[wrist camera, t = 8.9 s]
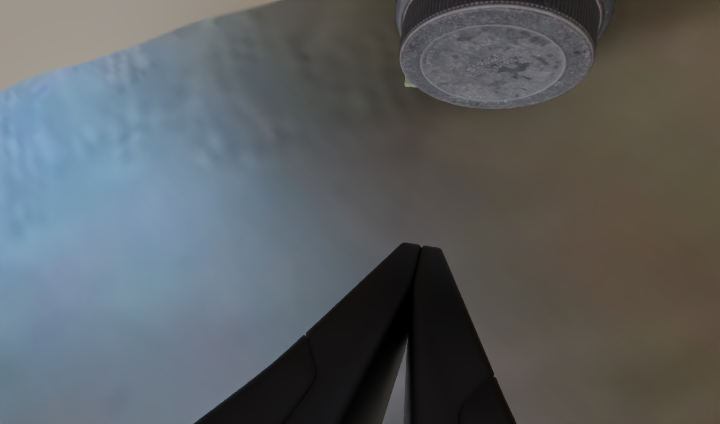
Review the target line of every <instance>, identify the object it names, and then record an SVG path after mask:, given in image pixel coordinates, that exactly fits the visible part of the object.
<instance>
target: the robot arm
mask: <svg viewBox="0 0 720 424" xmlns="http://www.w3.org/2000/svg"><path fill="white" fill-rule="evenodd" d="M407 339H408V344H407ZM406 344H407V358H406V381H405V404H404V424H516V422H515V419H514V417H513V415H512V413H511V411H510V409H509V406H508V404H507V402H506V400H505V398H504V395H503V393H502V391H501V388H500V386H499V384H498V381H497V379H496V378H495V377H494V372H493V370H492V368H491V365H490V363H489V360H488V358H487V356H486V353H485V351H484V349H483V346H482V344H481V342H480V339H479V337H478V334H477V332H476V330H475V327H474V325H473V323H472V320H471V318H470V316H469V313H468V311H467V308H466V306H465V304H464V301H463V299H462V297H461V294H460V292H459V289H458V287H457V285H456V282H455V280H454V278H453V275H452V273H451V271H450V268H449V266H448V263H447V261H446V259H445V256H444V254H443V252H442V250H441V249H440V248H437V247H430V246H423V247H422V248H421V246H420V245H418V244H411V243H402V244H400V245H399V246H398V247H397V248H396V249H395V250H394V251H393V252H392V253H391V254H390V255H389V256H388V257H387V258H386V259H384V260H383V261H382V262H381V263H380V264H379V265H378V266H377V267H376V268H375V269H374V270H373V271H372V272H371V273H370V274H368V275H367V276H366V277H365V278H364V279H363V280H362V281H361V282H360V283H359V284H358V285H357V286H356V287H355V288H353V289H352V290H351V291H350V292H349V293H348V294H347V295H346V296H345V297H344V298H343V299H342V300H341V301H340V302H339V303H337V304H336V305H335V306H334V307H333V308H332V309H331V310H330V311H329V312H328V313H327V314H326V315H325V316H324V317H323V318H321V319H320V320H319V321H318V322H317V323H316V324H315V325H314V326H313V327H312V328H311V329H310V330H309V331H308V332H307V333H306V335H303V336H302V337H301V338H300V339H299V340H298V341H297V342H296V343H295V344H293V345H292V346H291V347H290V348H289V349H288V350H287V351H286V352H285V353H283V354H282V355H281V356H280V357H279V358H278V359H277V360H276V361H274V362H273V363H272V364H271V365H270V366H269V367H267V368H266V369H265V370H263V371H262V372H261V373H260V374H258V375H257V376H256V377H255V378H253V379H252V380H251V381H250V382H248V383H247V384H246V385H244V386H243V387H242V388H240V389H239V390H238V391H236V392H235V393H234V394H232V395H231V396H230V397H228V398H227V399H226V400H224V401H223V402H222V403H220V404H219V405H218V406H216V407H215V408H214V409H212V410H211V411H210V412H208V413H207V414H206V415H204V416H203V417H202V418H200V419H199V420H198V421H196V422H195V423H194V424H382V422H383V419H384V415H385V412H386V409H387V406H388V403H389V399H390V396H391V393H392V390H393V387H394V383H395V380H396V377H397V374H398V371H399V367H400V364H401V361H402V358H403V355H404V351H405V348H406Z"/></svg>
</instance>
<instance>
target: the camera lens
mask: <svg viewBox="0 0 720 424" xmlns="http://www.w3.org/2000/svg"><path fill="white" fill-rule="evenodd" d="M614 8H615V0H397V2H396V12H395V20H396V24H397V28H398V33H399V35H400V37H401V42H400V52H399V58H400V64H401V68H402V70H403V73H404V75H405V76H406V77H407V78H408V79H409V81H410V82H411V83H412V84H414V85H415V86H416V87H417V88H419V89H420V90H421V91H423V92H425V93H426V94H428V95H430V96H432V97H434V98H436V99H439V100H442V101H445V102H447V103H450V104H455V105H459V106H464V107H470V108H482V109H504V108H517V107H523V106H529V105H533V104H538V103H542V102H544V101H547V100H550V99H553V98H555V97H557V96H560V95H562V94H564V93H566V92H567V91H569V90H571V89H572V88H574V87H575V86H576V85H577V84H579V83H580V82H581V81H582V80H583V79H584V78H585V77H586V75H587V74H588V72H589V70H590V69H591V67H592V64H593V62H594V59H595V53H596V45H597V41H598V39H599V38H600V37H601V36H602V35H603V33H604V32H605V30H606V28H607V27H608V25H609V22H610V20H611V17H612V15H613V12H614Z"/></svg>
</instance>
